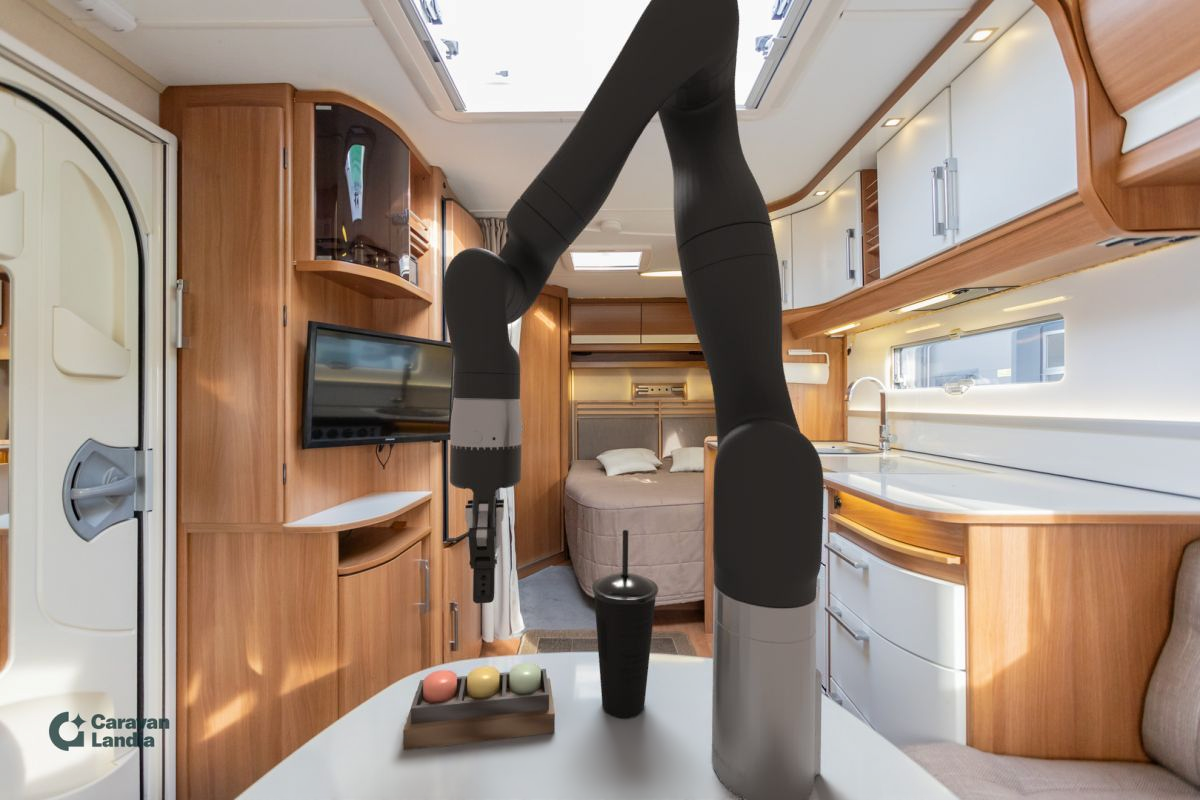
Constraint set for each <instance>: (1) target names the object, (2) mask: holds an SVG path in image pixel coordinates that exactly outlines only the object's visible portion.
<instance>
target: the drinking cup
mask: <svg viewBox="0 0 1200 800" xmlns="http://www.w3.org/2000/svg"><path fill="white" fill-rule="evenodd" d="M621 547H622V556H621V558H622V563H621V566H622V567H621V572H615V573H611V574H608V575H605V576H602V577H598V578H597V579H596V580H595V581H593V582H592V585H591V593H592V595H593V597H594V598H593V599H594V611H595V623H596V624H595V625H596V636H597V638H596V639H597V651H598V652H597V653H598V664H599V677H600V679H599V680H600V691H601V693H600V694H601V706H602V708H603V710H604V712H605V713H606V714H607V715H609V716H611V717H612V718H616V719H622V720H627V719H628V720H629V719H634V718H637V717H638V716H639V715H641V714H642V712H643V711H644V708H645V703H646V693H647V684H648V674H649V663H650V654H651V645H652V644H651V643H652V635H653V626H654V625H653V624H654V616H655V608H656V606H655V605H656V598H657V597H658V595H659V586H658V584H657V583H656V582H655V581H653V580H651V579H650V578H647V577H644V576H642V575H639V574H637V573H634V572H629V530H627V529H623V530H622V546H621Z"/></svg>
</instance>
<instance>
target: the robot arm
mask: <svg viewBox="0 0 1200 800" xmlns="http://www.w3.org/2000/svg"><path fill="white" fill-rule="evenodd" d="M739 31H740V10H739V1H738V0H650V1H649V3H648V4H647V6H646V7H645V9H644V11H643V12H642V14H641V15H640V17H639V19H638V21H637V22H636V23H635V25H634V27H633V28H632V31H631V33H630V34H629V36H628V38H627V40H626V41H625V43H624V44H623V46H622V48H621V50H620V51H619V54H618V55H617V57H616V59H615V60H614V62H613V64H612V65H611V66H610V69H608V72H607V74H606V75H605V77H604V78H603V80H602V82H601V83H600V85H599V86H598V88H597V90H596V91H595V93H594V94H593V96H592V97H591V99H590V101H589V103H588V104H587V106H586V108H585V109H584V111H583V112H582V113H581V115H580V117H579V119H578V120H577V122H576V123H575V125H574V126H573V128H572V129H571V131H570V132H569V134H568V135H567V137H566V138H565V139H564V141H563V142H562V144H561V145H560V147H559V148H558V149H557V150H556V152H555V153H554V154H553V155H552V157H551V158H550V159H549V161H548V162H547V163H546V165H545V166H543V168H542V169H541V171H540V172H539V173H538V174H537V175H536V176H535V178H534V179H533V180H532V182H531V183H530V184H529V185H528V186H527V188H526V189H525V190H524V191H523V193H521V195H520V196H519V198H517V200H516V201H515V202H514V204H513V206H512V207H511V208H510V209H509V211H508V213H507V214H506V217H505V218H506V219H505V223H506V224H505V225H506V228H507V230H508V238H507V239H506V241H505V243H504V245H503V246H502V249H501V250H500V251H499V254H498V255H497V254H496V253H494V252H493V251H491V250H488V249H486V248H481V247H470V248H466V249H464V250H463V249H462V250H461V251H460V252H459V253H457V254H456V255H454V257H453V258H452V259H451V261H450V262H449V264H448V266H447V268H446V271H445V273H444V277H443V284H442V305H443V309H444V310H443V311H444V315H445V316H444V317H445V321H446V325H447V331H448V337H449V341H450V342H449V343H450V345H451V349H452V354H453V358H454V367H453V368H454V370H453V373H454V374H453V405H452V410H451V411H452V412H451V417H450V440H449V441H450V443H449V444H450V446H449V447H450V448H449V449H450V450H449V454H450V455H449V482H450V484H451V485H452V487H455V488H458V489H463V490H465V489H469V490H471V491H472V494H473V495H472V499H467V504H465V509H464V511H465V512H464V520H465V523H466V524H467V533H466V534H467V538H466V539H467V540H466V541H467V543H466V544H467V548H468V550H469V563H468V564H469V566H470V569H471V570H472V571H473V576H472V577H473V579H472V583H473V584H472V601H473V602H474V603H475V604H489V603H493V601H494V600H495V593H496V592H495V588H496V587H495V583H496V581H495V580H496V565H498V558H499V557H498V556H499V555H498V554H497V551H498V549H499V548H500V547H501V543H502V522H503V521H504V514H505V513H504V511H505V499H504V498H498V490H499V489H509V488H512V487H515V486H517V485H518V484H520V482H521V480H522V440H523V439H522V436H523V435H522V433H523V432H522V431H523V429H522V428H523V427H522V426H523V425H522V424H523V420H522V410H521V400H520V399H521V359H520V356H519V353H518V352H517V350H516V349H515V348H514V346H513V345H512V344H511V342H510V337H509V336H510V335H509V326H508V325H511V324H512V323H514V322H516V321H517V320H519V319H520V318H522V316H523V315H525V314H526V313H527V312H528V311H529V310H530V308H532V306H533V305H534V303H535V301H536V300H537V298H538V297H539V295H540V294H541V292H542V290H543V289H544V287H545V285H546V283H547V281H548V280H549V279H550V276H551V275H552V273H553V271H554V269H555V267H556V265H557V263H558V260H559V259H560V257H561V256H562V255H563V254H564V253H565V252H566V251H567V250H568V248H569V247H570V246H571V245H572V244H573V243H574V242H575V240H576V239H577V238H578V236H579V235H580V234H581V233H582V232H583V231H584V230H585V229H586V227H587V226H588V225H589V224H590V222H592V220H593V219H594V218H595V217H596V215H597V214H598V212H599V211H600V210H601V208H602V207H603V206H604V204H605V202H606V201H607V200H608V198H609V196H610V193H611V192H612V190H613V188H614V186H615V184H616V182H617V180H618V178H619V176H620V174H621V172H622V171H623V168H624V167H625V164H626V162H627V160H628V159H629V157H630V155H631V153H632V151H633V149H634V147H635V146H636V143H637V142H638V141H639V139H640V137H641V135H642V134H643V132H644V130H645V129H646V128H647V126H648V124H649V123H650V122H651V121H652V119H653V118H654V117H655V116H656V114H658V117H659V121H660V125H661V128H662V130H663V134H664V138H665V142H666V146H667V149H668V153H669V159H670V162H671V166H672V177H673V178H672V179H673V221H674V232H675V241H676V249H677V253H678V254H677V255H678V260H679V267H680V273H681V279H682V284H683V290H684V294H685V298H686V302H687V305H688V309H689V314H690V316H691V320H692V323H693V328H694V330H695V333H696V336H697V340H698V343H699V345H700V348H701V351H702V354H703V358H704V361H705V362H706V366H707V370H708V372H709V376H710V381H711V382H710V383H711V386H712V393H713V394H712V395H713V402H714V413H715V423H716V424H715V425H716V443H717V447H716V451H717V452H716V456H715V459H714V466H713V467H714V468H713V495H712V496H713V506H712V508H713V510H712V511H713V518H712V519H713V520H712V521H713V522H712V523H713V526H712V527H713V528H712V529H713V534H712V535H713V536H712V537H713V538H712V543H713V544H712V555H713V556H712V557H713V611H712V612H713V618H712V620H713V624H712V625H713V627H712V629H713V631H712V633H713V634H712V639H713V640H712V696H711V697H712V701H711V702H712V703H711V707H712V708H711V709H712V710H711V711H712V713H711V715H712V717H711V718H712V719H711V762H712V767H713V770H714V771H715V773H716V775H717V777H718V778H719V779H720V780H721V782H722V783H723V784H724V786H726V787H727V788H728V789H729V790H730V791H731V792H733V793H734V794H736V795H737V796H739V797H740V798H742V799H744V800H807V799H808V798H809V797H810V796H811V795H812V793H813V791H814V787H815V777H817V776H818V775H820V774H821V773H822V772H821V771H822V770H821V769H822V767H821V766H822V765H821V764H822V762H821V761H822V700H823V699H822V694H823V693H822V690H823V689H822V688H823V685H822V683H823V681H822V680H823V679H822V673H821V671H820V670H819V669H818V668H817V666H816V663H817V662H816V661H817V659H816V658H817V657H816V656H817V584H818V583H817V582H818V576H819V573H820V571H821V570H820V569H821V567H822V559H823V557H822V555H823V554H822V553H823V530H824V529H823V528H824V527H823V525H824V499H825V498H824V496H825V495H824V484H825V483H824V472H823V471H824V470H823V465H822V460H821V457H820V455H819V453H818V451H817V449H816V448H815V446H814V444H813V443H812V442H811V441H810V439H809V438H807V436H806V435H805V434H803V433H802V432H801V429H800V427H799V424H798V423H799V422H798V420H797V417H796V415H795V410H794V407H793V404H792V399H791V397H790V392H789V388H788V384H787V379H786V375H785V368H784V361H783V303H782V302H783V301H782V300H783V299H782V297H783V296H782V287H781V286H782V285H781V276H780V266H779V259H778V254H777V249H776V243H775V242H776V241H775V237H774V232H773V228H772V222H771V218H770V213H769V211H768V207H767V203H766V201H765V199H764V196H763V194H762V191H761V189H760V186H759V184H758V183H757V181H756V178H755V176H754V174H753V173H752V171H751V169H750V167H749V164H748V162H747V161H746V157H745V154H744V153H743V148H742V143H741V138H740V132H739V125H738V116H737V103H736V71H737V70H736V69H737V61H738V60H737V56H738V55H737V53H738V47H739V46H738V44H739V34H740V33H739ZM579 237H580V236H579Z"/></svg>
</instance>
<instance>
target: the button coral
mask: <svg viewBox="0 0 1200 800" xmlns="http://www.w3.org/2000/svg"><path fill="white" fill-rule="evenodd" d="M457 677H458V676H457V674H456V672H455V671H452V670H449V669H448V670H447V669H443V670H442V669H441V670H438V671H434V672H431V673H429V674H428V675H427V676H426V677H425V678H424V679H423V680H424V681H423V699H424V701H425V702H427V703H429V704H436V703H445V702H447V701H449V700H451V699H452V698H454V697H455V695H456V693H457Z"/></svg>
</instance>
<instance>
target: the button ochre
mask: <svg viewBox="0 0 1200 800" xmlns="http://www.w3.org/2000/svg"><path fill="white" fill-rule="evenodd" d="M499 673H500V671H499V670H498V668H496V667H494V666H486V665H485V666H480V667H476V668H474V669H472V670H471V671H470V672H469V673H468V674H467V675H466V676H467V694H468V696H469V697H470V698H472V699H486V698H491V697H493V696H494V695H496V694H497V693H498V691H499Z"/></svg>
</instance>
